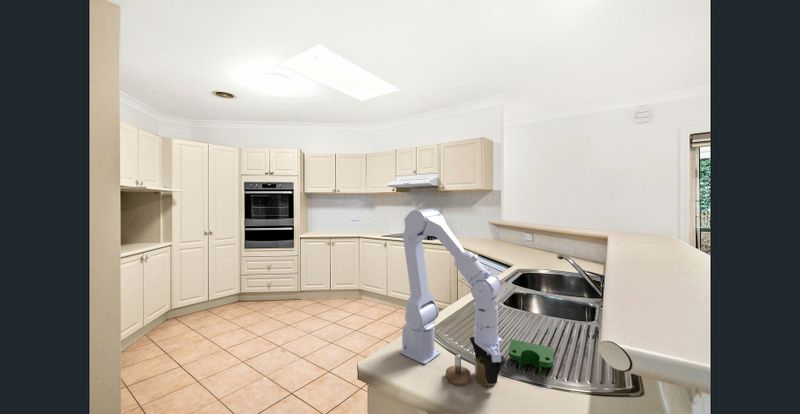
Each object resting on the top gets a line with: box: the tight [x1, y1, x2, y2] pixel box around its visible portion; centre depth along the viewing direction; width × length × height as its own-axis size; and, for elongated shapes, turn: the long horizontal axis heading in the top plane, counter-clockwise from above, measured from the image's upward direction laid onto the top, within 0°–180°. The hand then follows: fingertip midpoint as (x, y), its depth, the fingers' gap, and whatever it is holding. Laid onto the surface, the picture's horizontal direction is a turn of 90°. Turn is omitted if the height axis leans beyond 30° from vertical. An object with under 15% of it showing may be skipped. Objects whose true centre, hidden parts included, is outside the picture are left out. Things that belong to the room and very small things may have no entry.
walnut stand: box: [445, 365, 471, 387], centre depth 80 cm, size 6×6×2 cm
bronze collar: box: [474, 356, 498, 387], centre depth 79 cm, size 5×5×5 cm
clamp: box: [508, 339, 555, 376], centre depth 85 cm, size 12×6×9 cm, turn 55°
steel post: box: [454, 354, 462, 374], centre depth 80 cm, size 2×2×5 cm
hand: (486, 373), depth 79 cm, fingers open, 7 cm apart
